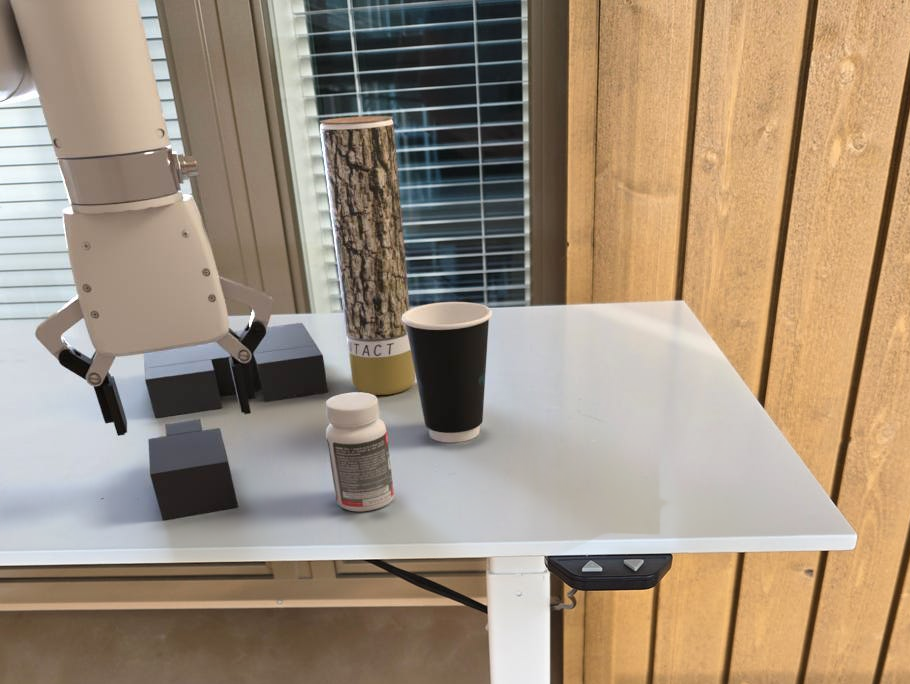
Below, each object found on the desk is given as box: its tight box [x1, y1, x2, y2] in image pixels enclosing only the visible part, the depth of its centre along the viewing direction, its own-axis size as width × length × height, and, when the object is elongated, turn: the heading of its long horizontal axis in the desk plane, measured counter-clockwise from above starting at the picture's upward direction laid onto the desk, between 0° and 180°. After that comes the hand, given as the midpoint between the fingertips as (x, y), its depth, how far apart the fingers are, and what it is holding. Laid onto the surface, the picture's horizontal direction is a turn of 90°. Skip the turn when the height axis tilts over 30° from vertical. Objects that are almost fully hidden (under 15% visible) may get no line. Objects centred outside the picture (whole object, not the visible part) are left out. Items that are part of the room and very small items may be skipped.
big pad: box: [143, 322, 329, 419], centre depth 97 cm, size 18×14×4 cm
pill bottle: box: [325, 391, 395, 513], centre depth 70 cm, size 5×5×8 cm
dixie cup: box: [402, 301, 493, 444], centre depth 81 cm, size 8×8×11 cm
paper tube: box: [319, 115, 416, 396], centre depth 88 cm, size 7×7×25 cm
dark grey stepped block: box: [147, 418, 239, 521], centre depth 75 cm, size 6×11×4 cm, turn 18°
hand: (184, 419), depth 71 cm, fingers open, 9 cm apart
